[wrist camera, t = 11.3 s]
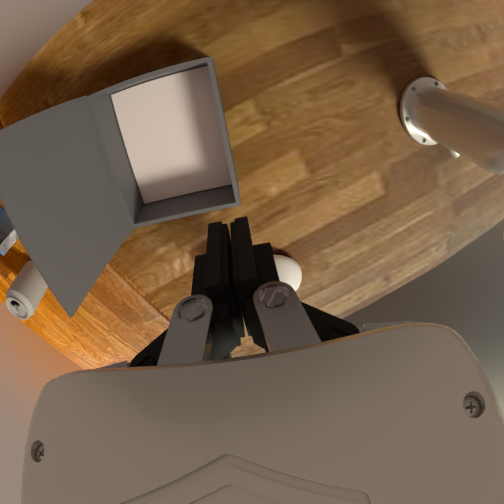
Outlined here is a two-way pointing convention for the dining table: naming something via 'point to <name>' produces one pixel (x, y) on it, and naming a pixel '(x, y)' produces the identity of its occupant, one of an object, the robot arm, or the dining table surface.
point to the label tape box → (6, 232)
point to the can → (25, 292)
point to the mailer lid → (62, 198)
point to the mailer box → (167, 143)
